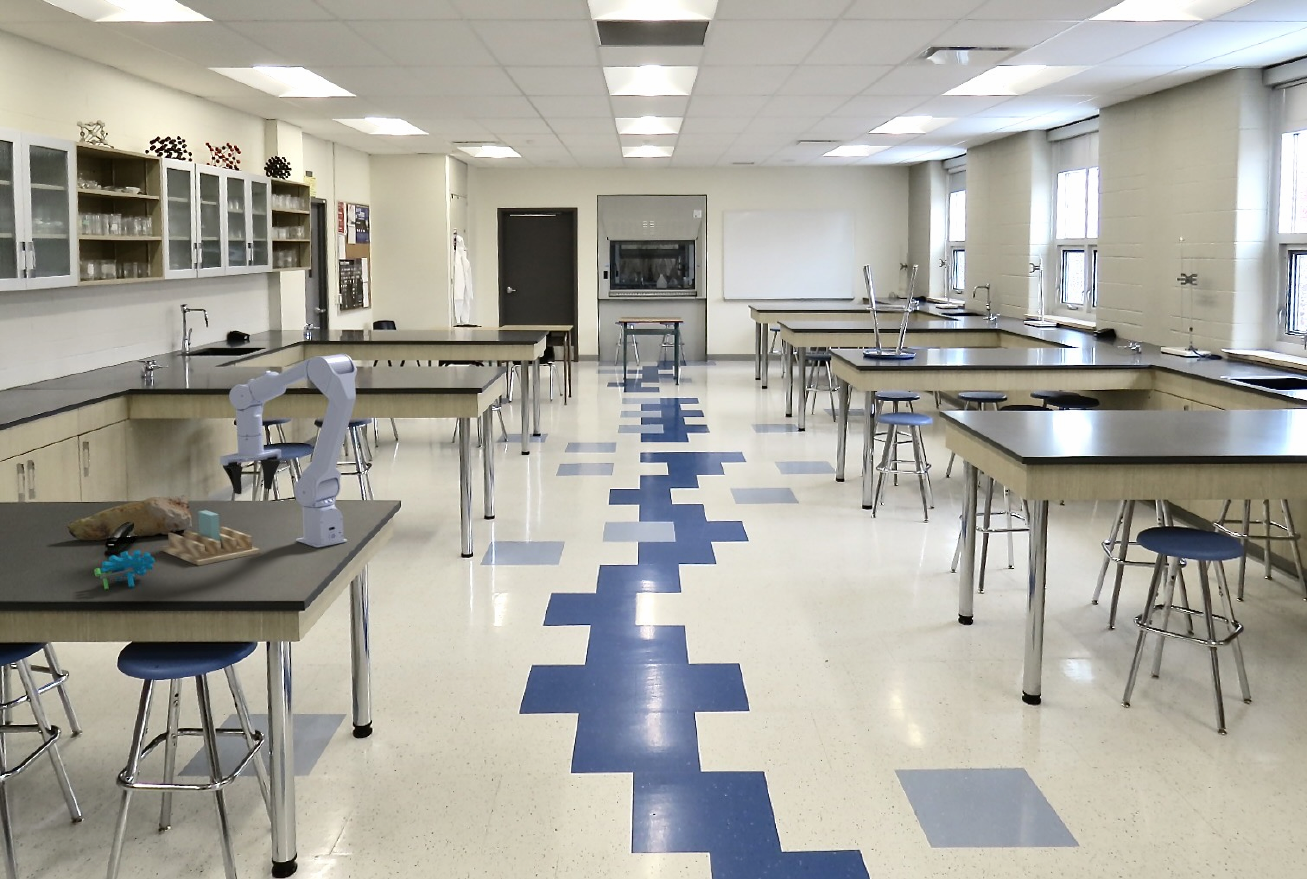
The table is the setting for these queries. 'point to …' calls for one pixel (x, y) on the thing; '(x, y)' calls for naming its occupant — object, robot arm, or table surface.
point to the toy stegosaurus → (125, 567)
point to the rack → (210, 546)
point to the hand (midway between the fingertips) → (253, 491)
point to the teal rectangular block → (209, 524)
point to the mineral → (136, 518)
